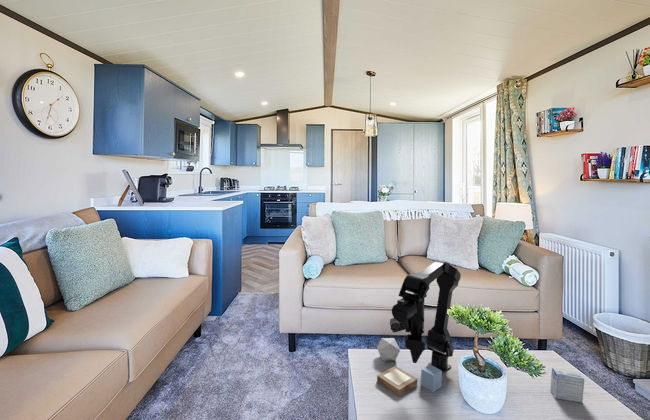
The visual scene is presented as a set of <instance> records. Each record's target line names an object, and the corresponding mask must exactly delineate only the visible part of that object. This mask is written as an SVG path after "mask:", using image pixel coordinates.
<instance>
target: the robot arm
mask: <svg viewBox="0 0 650 420" xmlns="http://www.w3.org/2000/svg"><path fill="white" fill-rule="evenodd" d="M461 276H462V275H461V272H460V271H459V270H458V268H457V267H455V266H452V265H451V264H450V263H449V262H447V261H446V260H440V259H434V260H433V262H432V263H431V264H430V265H428V266H427V267H425V268H424V269H422V270H421V271H420V272H413V273H409V274H407V275H406V276H405V278H404V279H403V282H402V285H401V287H400V290H399V293H398V297H401V299H397V302H396V303H395V304H394V305H393V306H392V308H391V314H392V318H390V319H389V325H390V330H391V331H392V333H394V334H395V333H398V332H401V331H405V332H404V333H408V334H407V335H405V337H404V338H405V339H404V347H405V349H406V350H409V352H410V356H411V360H412V363H413V364H417V362H418V361H419V359H420V357H421V356H422V354H423V352H424V351H425V350H429V351H431V359H430V360H431V361H430V362H429V363H427V366H428V365H429V364H430V365H432V366H434V367H436V368H438V369H440V370H441V371H442V374H443V373H445V372H446V371H448V370H449V369H451V368H452V365H451V364H449V358H450V357H451V358H452V357H453V356H454V355H453V354H454V350H455V347H454V346H453V344H452V343H451V334H450V332H449V329H448V325H449V324H448V323H449V317H450V314H449V315H448V314H447V309H451V304H452V296H453V293H454V290H455V289H457V287H458V286H459V283H460V280H461ZM435 280H436V283H437V285H438V288H439V290H438V296H437V297H438V298H437V304H436V305H437V306H436V310H435V317H434V322H433V323H434V324H433V326H432V327H431V328H430V329H429V330H428V331H427V336H426V338H424V337H423V334H425V298H427V293H428V291H429V290H430V284H431V283H433V282H434V281H435ZM409 333H410V334H409ZM426 348H427V349H426Z"/></svg>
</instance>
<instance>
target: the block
mask: <svg viewBox="0 0 650 420" xmlns="http://www.w3.org/2000/svg"><path fill="white" fill-rule="evenodd" d="M420 373H421V376H420V377H421V378H420V385H421V386H422V387H424V388H425V389H427V390H428V391H430V392H431V393H435V392H436V391H437V390H438V389H440V388H441V387H442V384H443V383H442V380H443V373H442V371H441V370H440V369H438V368H436V367H434V366H432V365H430V364H429V365H428V364H427V365H426V366H424V367H423V368H421V372H420Z"/></svg>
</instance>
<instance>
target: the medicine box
mask: <svg viewBox="0 0 650 420" xmlns="http://www.w3.org/2000/svg"><path fill="white" fill-rule="evenodd" d="M550 378H551V379H550V392H551V394H552V395H553V397H554V398H555V399H558V400H565V401H571V402H576V403H581V404H583V401H584V389H585V378H584V377H583V375H582V374H581V373H580V372H579V371H577V370H572V369H570V370H569V369H564V368H555V367H551V377H550Z"/></svg>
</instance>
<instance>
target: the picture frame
mask: <svg viewBox="0 0 650 420" xmlns="http://www.w3.org/2000/svg"><path fill="white" fill-rule="evenodd" d="M376 382H377V383H378V384H379V385H381V386H383V387H384V388H385V389H387V390H388V391H389V392H391V393H392V394H394V395H395V396H397V397H398V398H400V397H402V395H405V394H406V393H408V392H409V391H410V390H413V389H414V388H416V387H418V378H417V377H415V376H413V375H411V374H410V373H408V372H406V371H405V370H403V369H402V368H400V367H398V366H396V365H394V366H392V367H391V368H388V369H386V370H385V371H383V372H381V373H379V374H377V375H376Z"/></svg>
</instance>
